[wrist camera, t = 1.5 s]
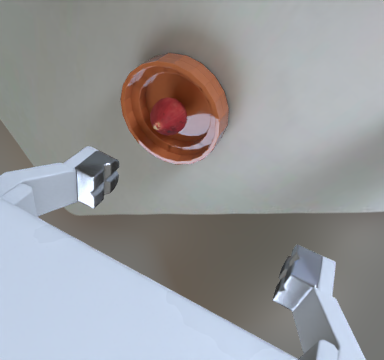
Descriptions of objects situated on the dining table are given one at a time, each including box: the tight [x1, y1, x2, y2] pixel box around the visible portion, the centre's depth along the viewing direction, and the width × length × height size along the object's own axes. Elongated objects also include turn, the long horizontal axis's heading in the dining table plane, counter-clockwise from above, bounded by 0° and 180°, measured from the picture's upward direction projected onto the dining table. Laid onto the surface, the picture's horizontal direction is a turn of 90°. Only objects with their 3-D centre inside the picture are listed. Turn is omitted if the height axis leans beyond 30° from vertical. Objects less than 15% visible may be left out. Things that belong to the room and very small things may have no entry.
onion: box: [150, 97, 187, 135], centre depth 52 cm, size 6×6×8 cm
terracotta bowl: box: [121, 53, 229, 164], centre depth 53 cm, size 17×17×4 cm
